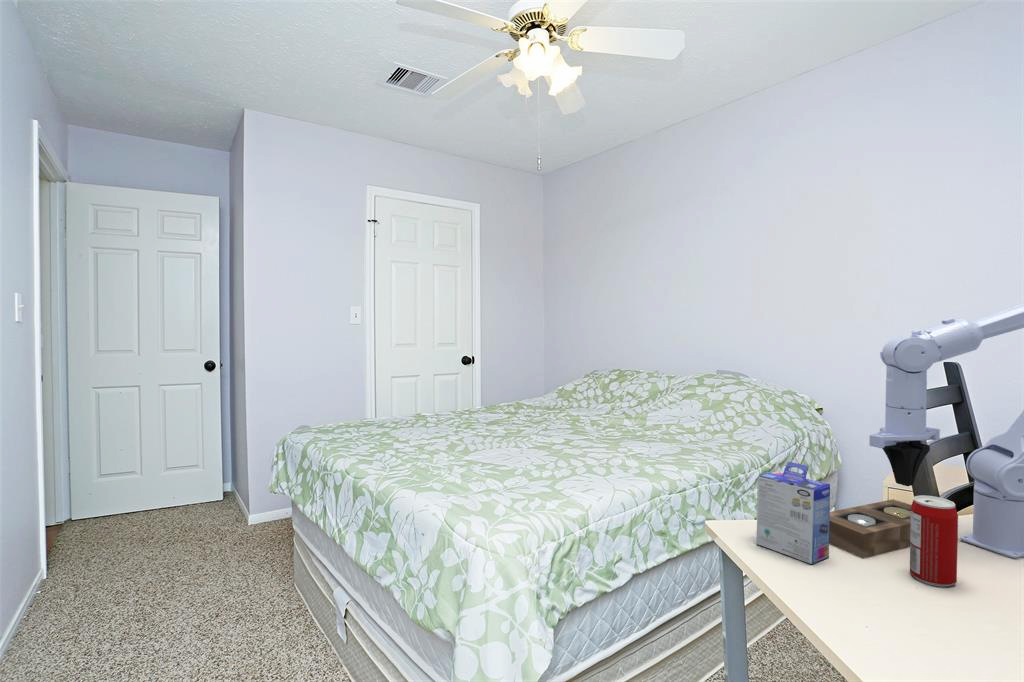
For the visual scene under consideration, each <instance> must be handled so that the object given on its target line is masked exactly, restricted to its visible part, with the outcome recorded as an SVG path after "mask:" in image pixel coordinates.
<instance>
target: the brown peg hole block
mask: <svg viewBox="0 0 1024 682" xmlns="http://www.w3.org/2000/svg"><path fill="white" fill-rule="evenodd" d="M911 505H912V504H910V503H906V502H905V501H904V502H903V501H900V500H897V499H894V498H893V499H886V500H883V501H877V502H872V503H868V504H863V505H857V506H853V507H852V506H851V507H847V508H844V509H838V510H833V511H830V515H829V543H831V544H830V545H832V544H833V545H832V546H834V547H837V548H839V549H841V550H843V551H846V552H848V553H850V554H852V553H853V555H855V556H857V557H859V558H861V559H866V558H870V557H874V556H879V555H883V554H887V553H890V552H895V551H898V550H903V549H907V548H910V526H911V516H910V517H905V518H900V517H897V516H894V515H891V514H888V513H885V512H884V508H886V507H896V508H902V509H905V510H908V511H910V512H911ZM852 514H858V515H865V516H868V517H871V518H873V519H875V524H873V525H869V526H863V525H860V524H858V523H855V522H852V521H850V520H848V516H849V515H852Z"/></svg>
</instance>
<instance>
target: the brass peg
mask: <svg viewBox="0 0 1024 682" xmlns="http://www.w3.org/2000/svg"><path fill="white" fill-rule="evenodd" d="M884 512H885V513H888V514H891V515H894V516H897V517H900V518H905V517H910V516H911V512H910V511H908V510H905V509H902V508H896V507H886V508H884Z"/></svg>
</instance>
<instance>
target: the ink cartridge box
mask: <svg viewBox="0 0 1024 682" xmlns="http://www.w3.org/2000/svg"><path fill="white" fill-rule="evenodd" d="M790 468H797V469H800V470H801V471H802V473H799V472H796V471H792V470H790ZM808 470H809V465H804V464H800V463H796V462H791V461H787V463H786V465H785V468H784V471H783V472H779V471H769V472H766V473H763V474H760V475H758V476H757V494H756V495H757V497H756V498H757V501H756V502H757V503H756V505H757V506H756V536H755V537H756V539H755V540H756V541H755V542H756V545H758V546H762V547H763V548H767V549H769V550H772V551H775V552H777V553H779V554H783V555H785V556H788V557H791V558H794V559H796V560H799V561H803V563H807V564H810V565H813V564H815V563H819V562H820V561H822V560H825V559H828V558H830V544H829V515H830V512H831V511H830V506H831V505H830V504H831V503H830V502H831V501H830V500H831V483H828V482H823V481H819V480H815V479H810V478H807V474H808V472H809V471H808Z"/></svg>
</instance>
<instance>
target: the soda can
mask: <svg viewBox="0 0 1024 682" xmlns="http://www.w3.org/2000/svg"><path fill="white" fill-rule="evenodd" d="M910 505H911V526H910V547H909V572H910V573H911V575H912V576H913V577H914V578H915V579H916V580H917V581H919V582H921V583H924V584H927V585H930V586H934V587H942V588H944V587H945V588H946V587H951V586H953V585H954V584H956V583H957V579H958V578H957V577H958V543H959V542H958V535H959V531H958V530H959V515H958V511H957V507H956V503H955V502H954V501H951V500H949V499H947V498H943V497H939V496H934V495H916V496H914V497H913V500H912V503H911V504H910Z"/></svg>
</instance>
